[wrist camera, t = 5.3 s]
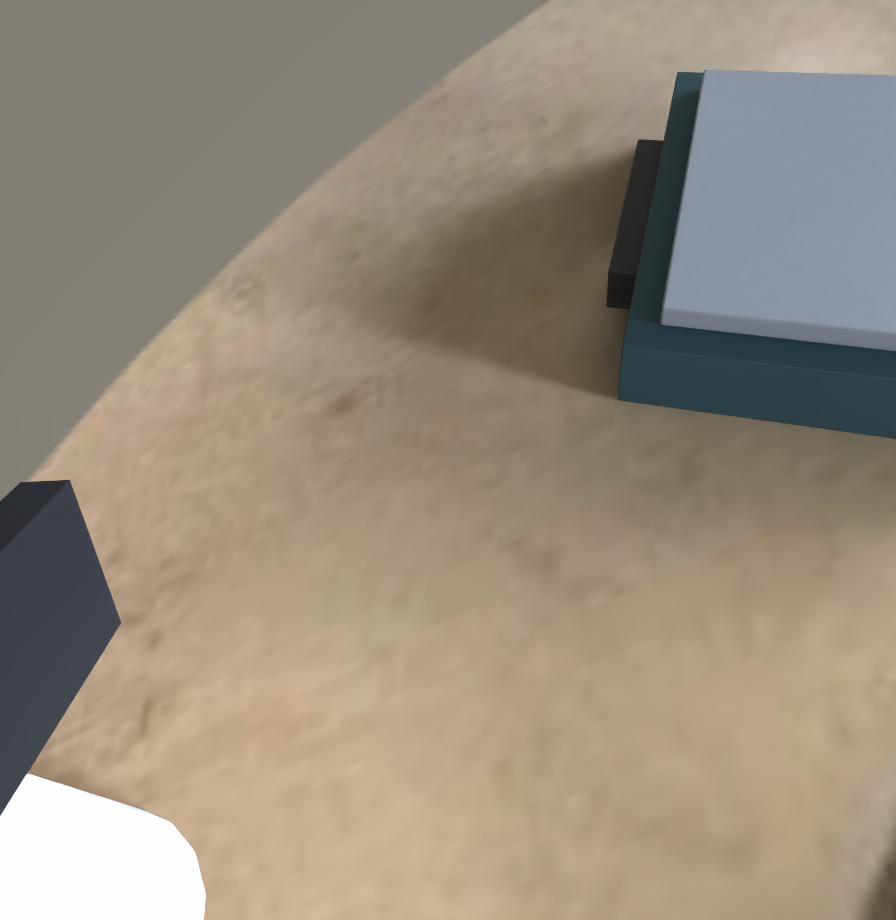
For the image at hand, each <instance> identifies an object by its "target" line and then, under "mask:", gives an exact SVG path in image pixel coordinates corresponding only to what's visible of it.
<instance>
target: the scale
mask: <svg viewBox="0 0 896 920" xmlns="http://www.w3.org/2000/svg"><path fill="white" fill-rule="evenodd" d="M606 306H607V307H613V308H622V309H630V311H629V316H628V321H627V326H626V331H625V336H624V341H623V346H622V356H621V367H620V378H619V389H618V400H623V401H630V402H637V403H644V404H651V405H658V406H666V407H673V408H680V409H687V410H694V411H702V412H709V413H716V414H723V415H730V416H737V417H745V418H752V419H759V420H766V421H773V422H781V423H788V424H795V425H802V426H809V427H816V428H824V429H831V430H838V431H845V432H852V433H859V434H867V435H874V436H881V437H888V438H895V439H896V76H894V75H860V74H827V73H794V72H761V71H727V70H704V72H703V73H694V72H678V73H677V77H676V82H675V87H674V92H673V97H672V102H671V107H670V112H669V117H668V122H667V127H666V132H665V137H664V141H659V140H638V142H637V147H636V151H635V156H634V160H633V165H632V169H631V173H630V178H629V182H628V187H627V191H626V196H625V200H624V205H623V209H622V213H621V218H620V222H619V227H618V231H617V236H616V240H615V245H614V249H613V254H612V258H611V262H610V267H609V271H608V286H607V303H606Z"/></svg>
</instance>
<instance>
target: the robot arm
mask: <svg viewBox="0 0 896 920" xmlns="http://www.w3.org/2000/svg"><path fill="white" fill-rule="evenodd" d="M120 624H121V621H120V618H119V615H118V612H117V610H116V607H115V604H114V601H113V599H112V596H111V593H110V590H109V588H108V585H107V582H106V579H105V577H104V574H103V571H102V568H101V565H100V563H99V560H98V557H97V554H96V552H95V549H94V546H93V543H92V541H91V538H90V535H89V532H88V529H87V527H86V524H85V521H84V518H83V516H82V513H81V510H80V507H79V505H78V502H77V499H76V496H75V493H74V491H73V488H72V485H71V482H70V480H60V481H39V482H20V483H19V484H18V485H17V486H16V487H15V488H14V489H13V490H12V491H11V492H10V493H9V494H8V495H7V496H6V497H5V498H3V499H2V500H1V501H0V816H1V815H2V813H3V811H4V810H5V808H6V807H7V805H8V803H9V802H10V800H11V799H12V797H13V795H14V794H15V792H16V791H17V789H18V787H19V786H20V784H21V782H22V781H23V779H24V778H25V776H26V774H27V773H28V771H29V770H30V768H31V766H32V765H33V763H34V762H35V760H36V758H37V757H38V755H39V754H40V752H41V750H42V749H43V747H44V746H45V744H46V742H47V741H48V739H49V738H50V736H51V734H52V733H53V731H54V730H55V728H56V726H57V725H58V723H59V722H60V720H61V718H62V717H63V715H64V714H65V712H66V710H67V709H68V707H69V706H70V704H71V702H72V701H73V699H74V698H75V696H76V694H77V693H78V691H79V690H80V688H81V686H82V685H83V683H84V682H85V680H86V678H87V677H88V675H89V674H90V672H91V670H92V669H93V667H94V666H95V664H96V662H97V661H98V659H99V658H100V656H101V654H102V653H103V651H104V650H105V648H106V646H107V645H108V643H109V642H110V640H111V638H112V637H113V635H114V634H115V632H116V630H117V629H118V627H119V626H120Z"/></svg>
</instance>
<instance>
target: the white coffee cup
mask: <svg viewBox="0 0 896 920" xmlns="http://www.w3.org/2000/svg"><path fill="white" fill-rule="evenodd" d="M205 896H206V894H205V890H204V886H203V882H202V878H201V874H200V870H199V866H198V862H197V858H196V854H195V852H194V850H193V849H192V848H191V846H190V845H189V844H188V843H187V841H186V840H185V839H184V838H183V836H182V835H181V834H180V833H179V831H178V830H177V829H176V828H175V826H174V825H173V824H172V822H169V821H167V820H165V819H163V818H160V817H158V816H156V815H153V814H151V813H149V812H146V811H144V810H142V809H139V808H135V807H132V806H129V805H126V804H123V803H120V802H116V801H113V800H110V799H107V798H104V797H101V796H97V795H94V794H91V793H88V792H85V791H82V790H79V789H75V788H72V787H69V786H66V785H63V784H60V783H56V782H53V781H50V780H47V779H44V778H41V777H37V776H34V775H31V774H28V773H27V774H26V776H25V778H24V779H23V781H22V782H21V784H20V786H19V787H18V789H17V791H16V792H15V794H14V795H13V797H12V799H11V800H10V802H9V803H8V805H7V807H6V808H5V810H4V811H3V813H2V815H1V816H0V920H203V917H204V907H205Z"/></svg>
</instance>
